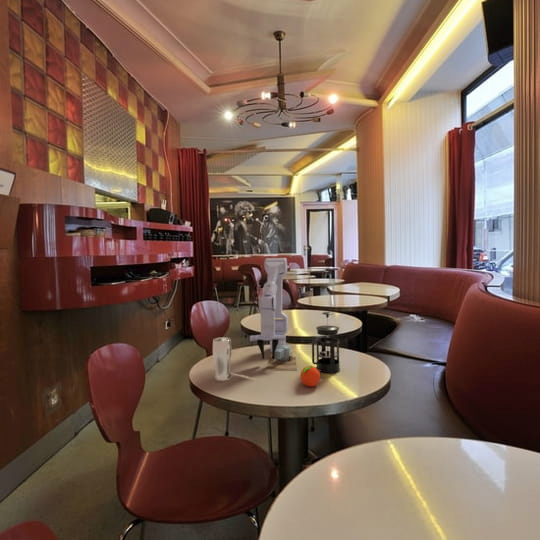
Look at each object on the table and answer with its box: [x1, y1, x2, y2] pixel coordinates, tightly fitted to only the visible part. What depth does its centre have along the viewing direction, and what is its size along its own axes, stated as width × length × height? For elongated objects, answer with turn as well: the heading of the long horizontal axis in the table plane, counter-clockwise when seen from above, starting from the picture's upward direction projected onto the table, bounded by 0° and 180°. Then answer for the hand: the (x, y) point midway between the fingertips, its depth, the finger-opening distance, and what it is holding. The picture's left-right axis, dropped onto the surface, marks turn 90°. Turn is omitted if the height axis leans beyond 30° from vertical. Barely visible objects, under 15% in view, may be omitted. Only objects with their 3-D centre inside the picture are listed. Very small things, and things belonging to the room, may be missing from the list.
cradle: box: [265, 352, 298, 372], centre depth 151 cm, size 18×12×3 cm, turn 177°
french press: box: [311, 311, 341, 375], centre depth 143 cm, size 12×9×23 cm
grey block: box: [275, 345, 291, 361], centre depth 153 cm, size 5×10×5 cm, turn 155°
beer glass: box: [212, 336, 232, 382], centre depth 136 cm, size 7×7×15 cm
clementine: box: [299, 365, 321, 387], centre depth 127 cm, size 8×7×7 cm
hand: (268, 358), depth 149 cm, fingers open, 3 cm apart
